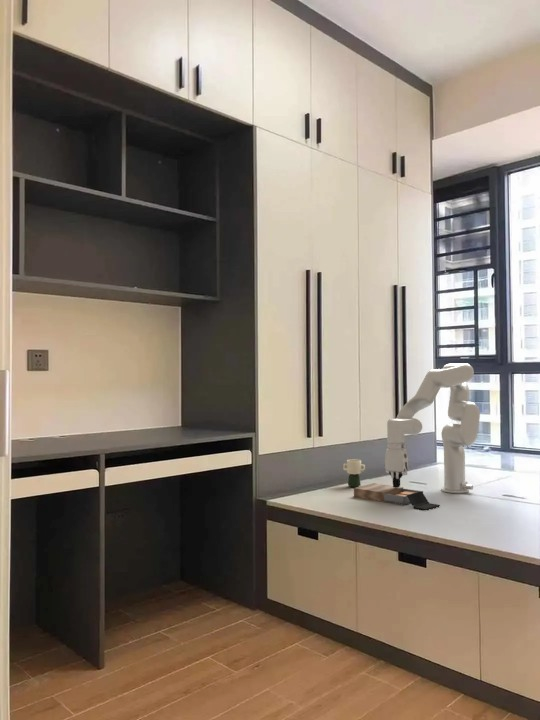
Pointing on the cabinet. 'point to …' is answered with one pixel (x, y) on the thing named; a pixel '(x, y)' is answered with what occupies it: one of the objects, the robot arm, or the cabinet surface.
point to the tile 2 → (406, 493)
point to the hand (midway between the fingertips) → (396, 487)
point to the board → (376, 491)
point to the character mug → (354, 472)
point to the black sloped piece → (420, 501)
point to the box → (399, 497)
